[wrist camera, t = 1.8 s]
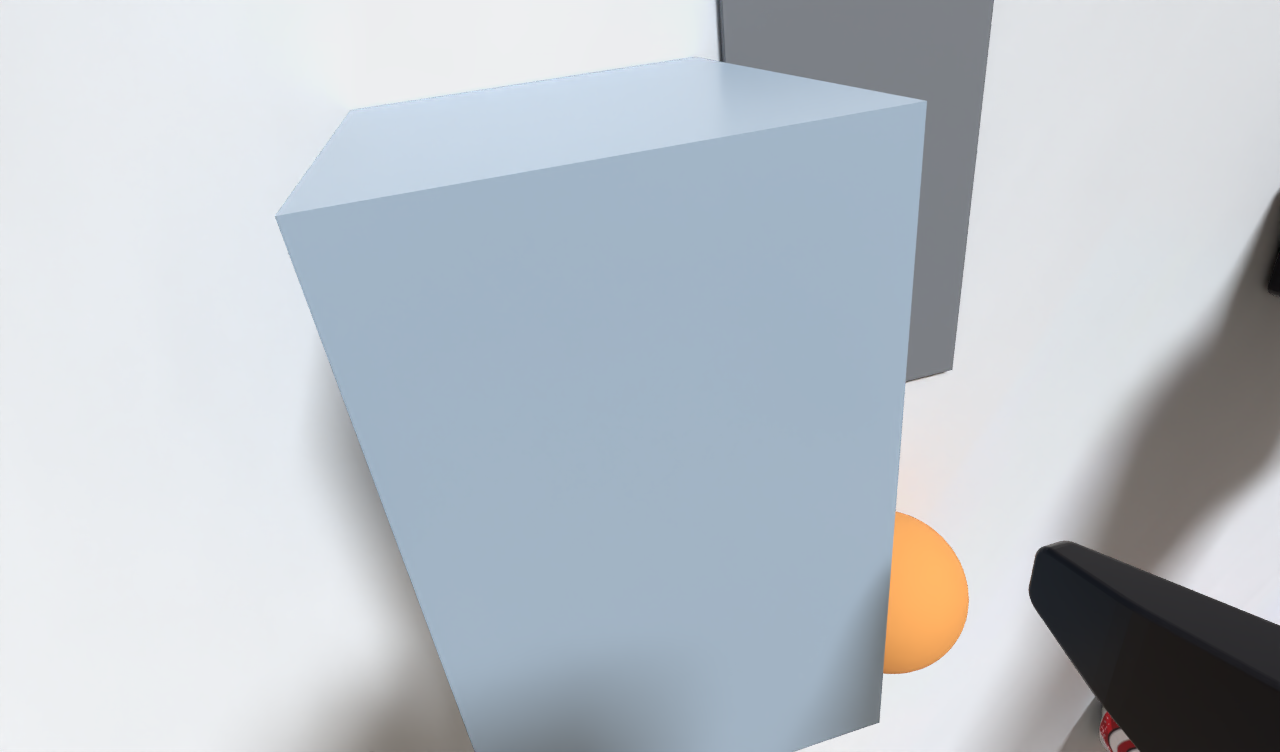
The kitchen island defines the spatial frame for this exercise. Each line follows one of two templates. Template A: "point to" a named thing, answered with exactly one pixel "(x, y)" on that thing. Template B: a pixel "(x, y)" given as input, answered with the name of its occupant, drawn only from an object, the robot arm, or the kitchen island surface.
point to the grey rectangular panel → (906, 66)
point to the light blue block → (631, 391)
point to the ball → (922, 597)
